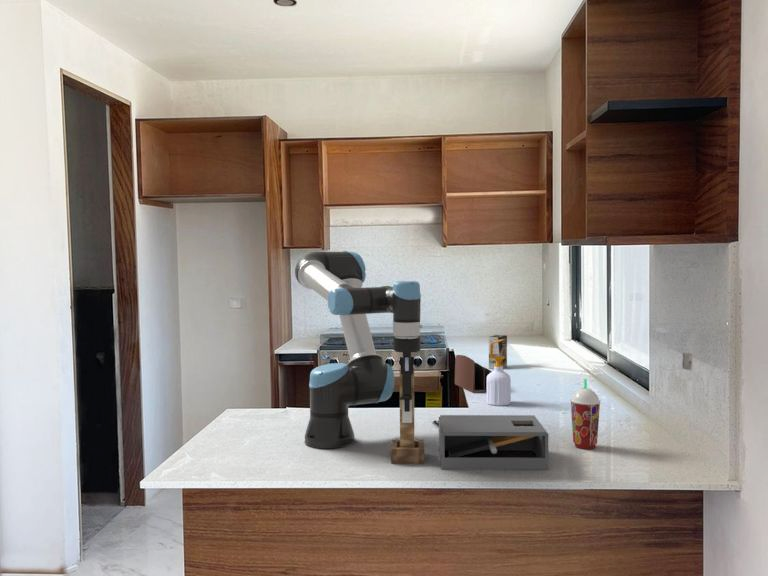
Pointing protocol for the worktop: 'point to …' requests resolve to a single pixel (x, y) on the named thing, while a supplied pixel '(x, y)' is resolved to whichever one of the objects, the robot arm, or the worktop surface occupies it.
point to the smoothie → (585, 417)
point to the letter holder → (470, 375)
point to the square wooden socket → (407, 453)
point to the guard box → (478, 426)
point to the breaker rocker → (484, 445)
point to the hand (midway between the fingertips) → (407, 420)
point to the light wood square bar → (407, 428)
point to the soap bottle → (498, 382)
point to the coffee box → (498, 349)
